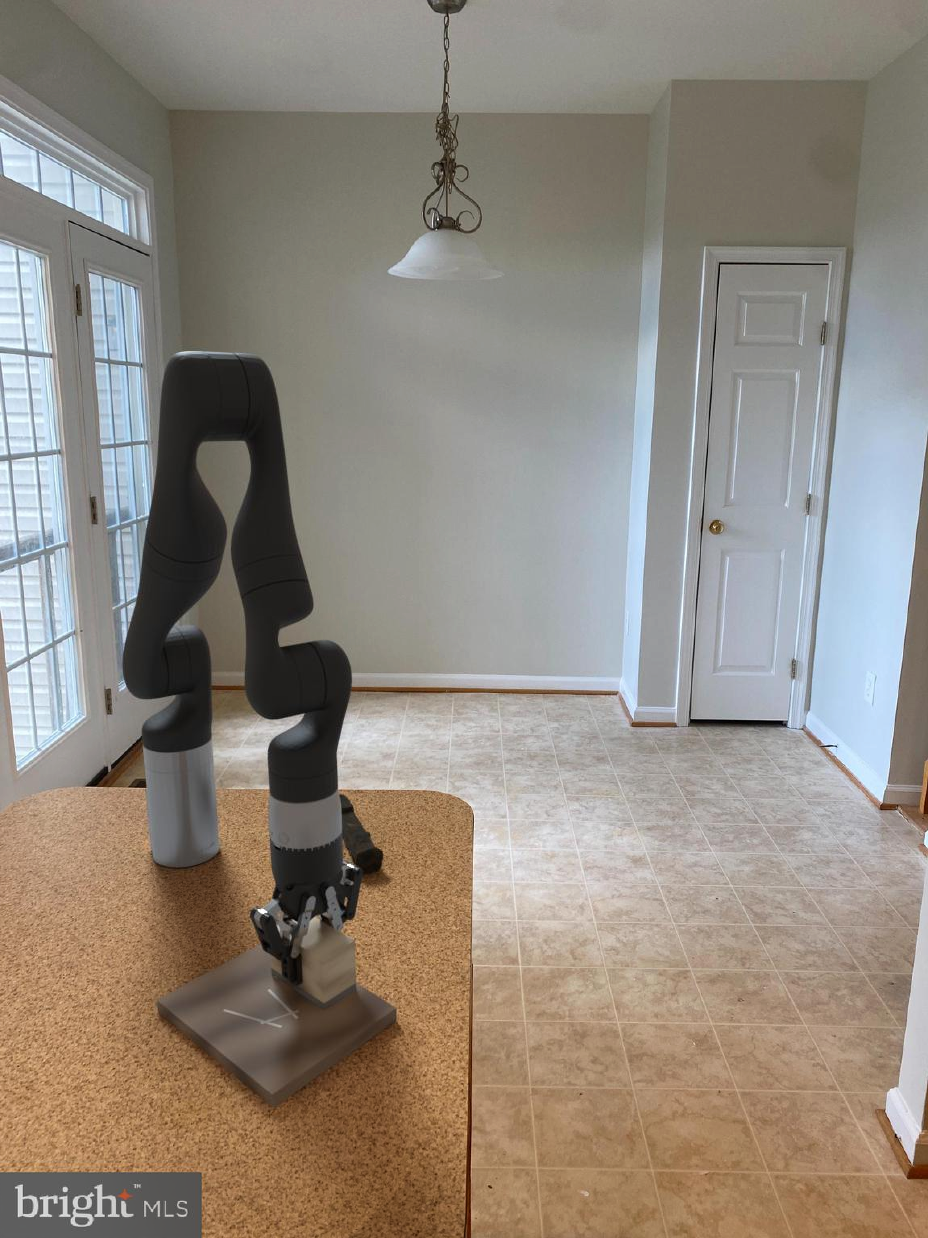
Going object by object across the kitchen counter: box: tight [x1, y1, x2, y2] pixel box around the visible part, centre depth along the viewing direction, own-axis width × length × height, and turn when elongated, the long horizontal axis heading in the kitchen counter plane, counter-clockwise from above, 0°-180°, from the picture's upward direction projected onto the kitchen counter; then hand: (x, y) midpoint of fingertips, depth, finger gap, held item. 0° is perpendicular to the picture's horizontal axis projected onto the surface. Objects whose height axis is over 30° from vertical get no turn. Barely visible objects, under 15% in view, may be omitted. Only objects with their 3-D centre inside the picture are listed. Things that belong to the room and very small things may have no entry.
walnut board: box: [156, 943, 398, 1109], centre depth 95 cm, size 20×16×2 cm
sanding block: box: [270, 916, 357, 1010], centre depth 98 cm, size 9×4×6 cm, turn 49°
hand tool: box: [339, 793, 384, 876], centre depth 131 cm, size 19×4×5 cm, turn 19°
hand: (312, 970), depth 98 cm, fingers closed on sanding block, 4 cm apart
